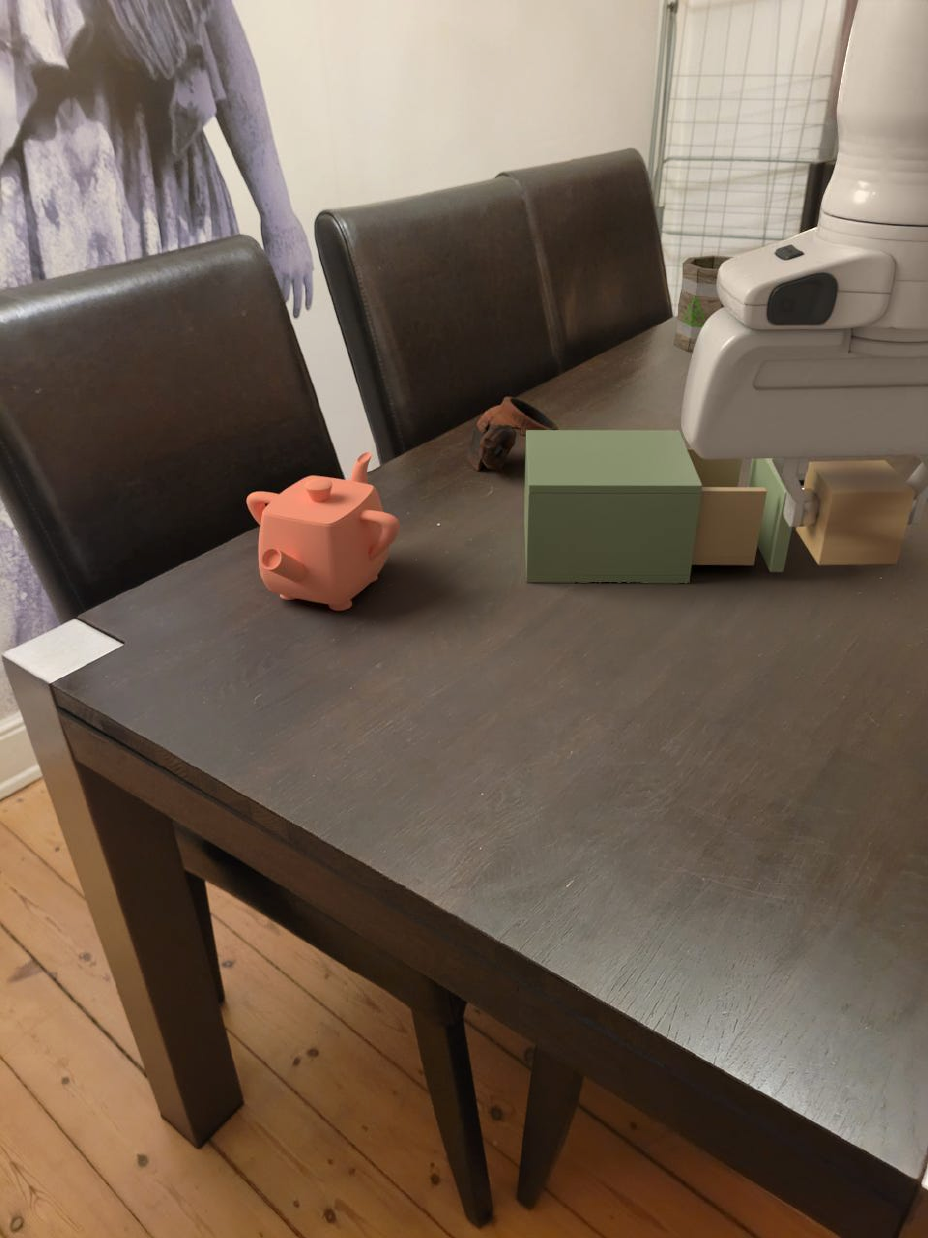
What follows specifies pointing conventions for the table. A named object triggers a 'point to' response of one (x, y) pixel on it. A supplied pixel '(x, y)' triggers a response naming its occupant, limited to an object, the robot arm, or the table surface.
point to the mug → (697, 298)
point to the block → (857, 512)
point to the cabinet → (609, 506)
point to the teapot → (323, 537)
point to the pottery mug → (503, 432)
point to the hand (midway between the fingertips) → (849, 521)
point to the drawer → (740, 514)
